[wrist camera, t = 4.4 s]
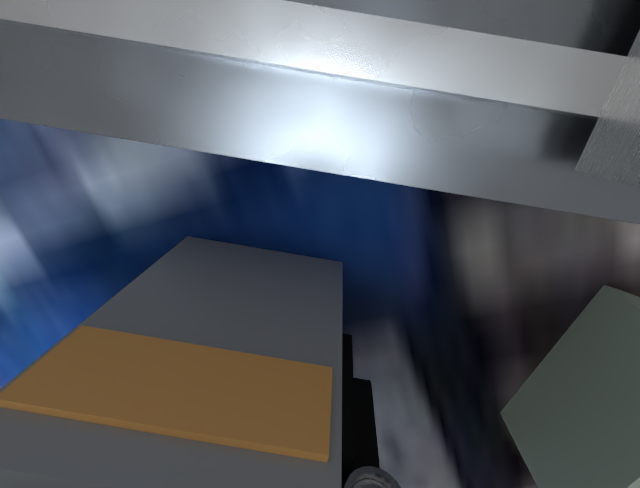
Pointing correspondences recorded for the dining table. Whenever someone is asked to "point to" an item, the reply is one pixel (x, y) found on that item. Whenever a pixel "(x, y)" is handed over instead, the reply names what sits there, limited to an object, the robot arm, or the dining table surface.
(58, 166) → the dining table surface
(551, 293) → the dining table surface
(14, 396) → the block
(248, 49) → the rail base
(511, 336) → the dining table surface
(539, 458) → the block
